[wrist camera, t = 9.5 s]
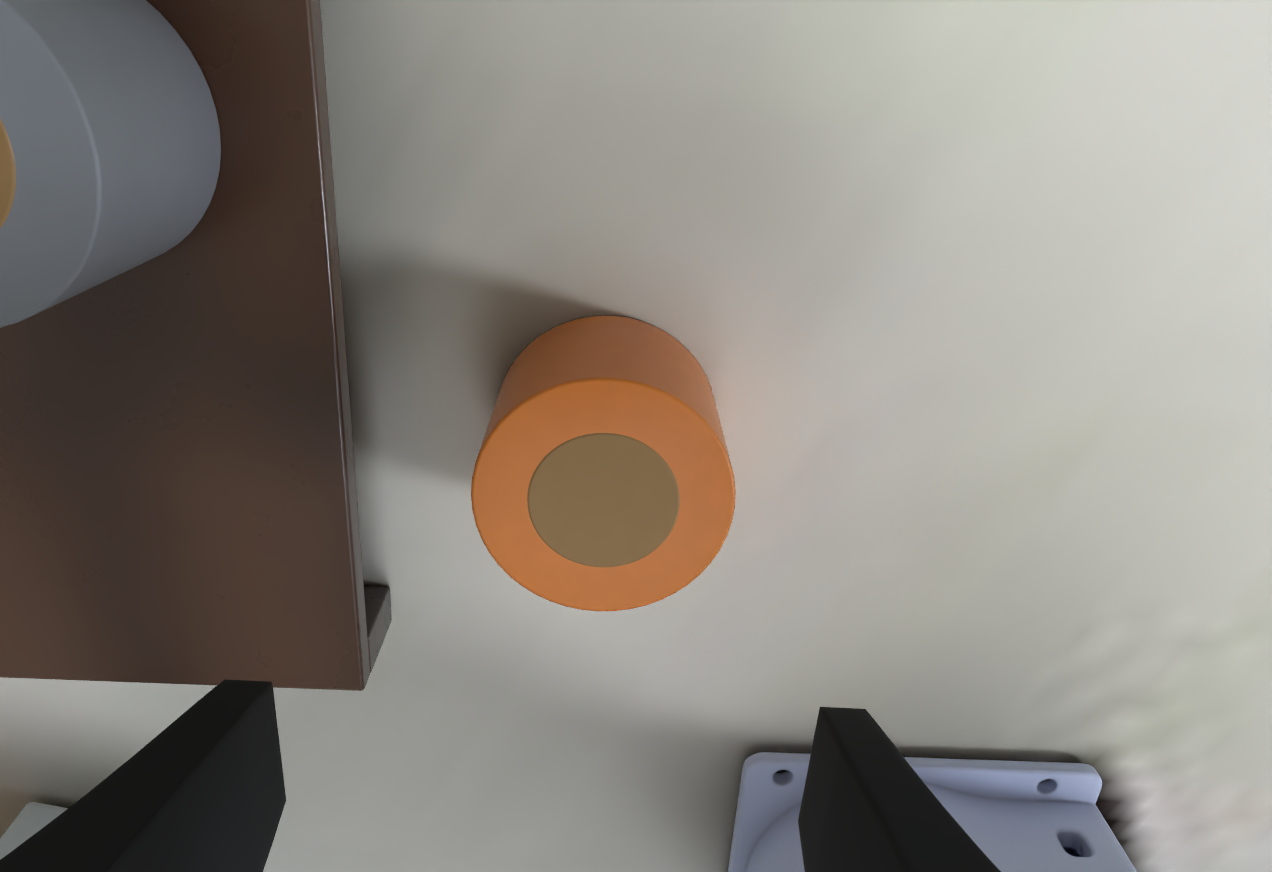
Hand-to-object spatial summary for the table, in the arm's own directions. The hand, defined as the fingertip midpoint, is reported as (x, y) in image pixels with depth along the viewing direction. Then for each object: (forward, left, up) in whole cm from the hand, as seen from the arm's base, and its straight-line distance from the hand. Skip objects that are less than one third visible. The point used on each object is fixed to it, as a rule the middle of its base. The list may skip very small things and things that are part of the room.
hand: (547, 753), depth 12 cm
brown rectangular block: (+8, -3, -9) cm, 13 cm away
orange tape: (-1, -1, -9) cm, 9 cm away
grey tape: (+8, -7, -6) cm, 13 cm away
